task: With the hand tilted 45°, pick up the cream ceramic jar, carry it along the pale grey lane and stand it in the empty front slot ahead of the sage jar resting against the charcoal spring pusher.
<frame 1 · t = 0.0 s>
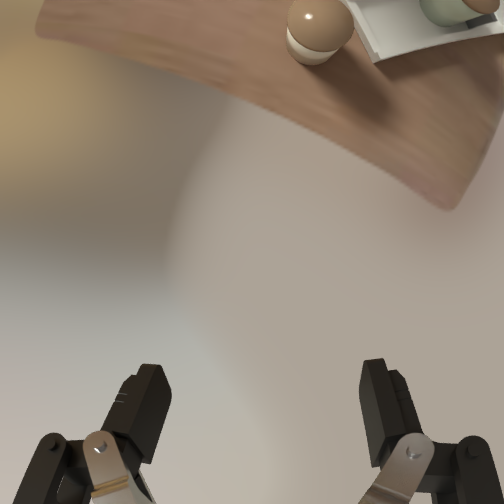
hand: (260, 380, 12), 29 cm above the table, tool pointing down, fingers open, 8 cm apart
cream jar: (310, 43, 30), on the table
jar lane: (432, 10, 26), on the table
sage jar: (438, 8, 24), point 1 cm above the table, touching jar lane
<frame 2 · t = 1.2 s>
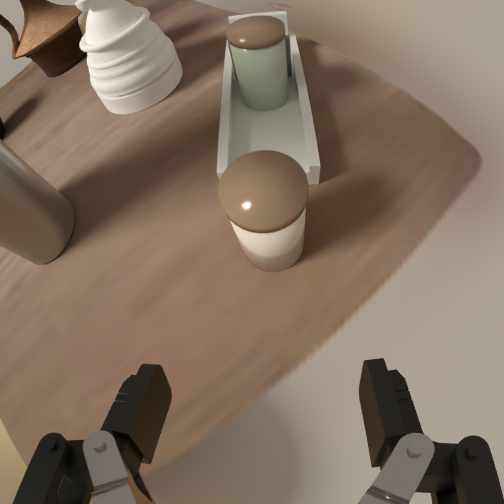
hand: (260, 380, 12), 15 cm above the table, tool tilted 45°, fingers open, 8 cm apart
pitcher: (67, 62, 50), on the table
cream jar: (273, 242, 29), on the table
pusher: (261, 52, 33), point 4 cm above the table, slide at 0.0 cm
jar lane: (266, 104, 35), on the table
sage jar: (265, 95, 34), point 1 cm above the table, touching jar lane
honey pot: (142, 84, 41), on the table, touching squeeze bottle
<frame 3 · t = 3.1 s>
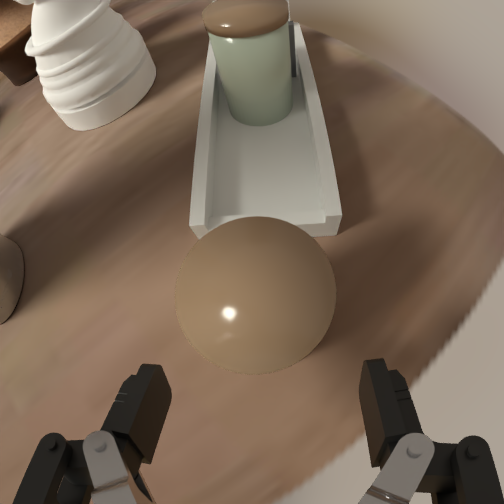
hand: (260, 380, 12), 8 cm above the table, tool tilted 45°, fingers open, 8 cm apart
pitcher: (35, 67, 41), on the table
cream jar: (271, 325, 20), on the table
pusher: (254, 46, 24), point 4 cm above the table, slide at 0.0 cm
jar lane: (262, 116, 27), on the table
sage jar: (260, 103, 26), point 1 cm above the table, touching jar lane
honey pot: (108, 90, 32), on the table, touching squeeze bottle
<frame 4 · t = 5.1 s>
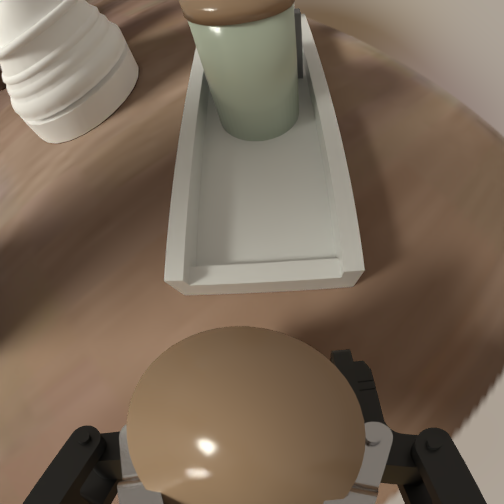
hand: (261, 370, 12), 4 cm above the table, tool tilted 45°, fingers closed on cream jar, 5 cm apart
cream jar: (270, 400, 16), on the table, touching gripper
pusher: (251, 40, 19), point 4 cm above the table, slide at 0.0 cm
jar lane: (261, 126, 22), on the table
sage jar: (259, 111, 21), point 1 cm above the table, touching jar lane
honey pot: (84, 95, 27), on the table, touching squeeze bottle
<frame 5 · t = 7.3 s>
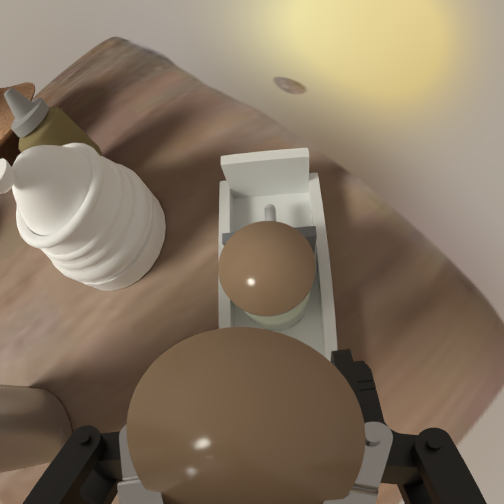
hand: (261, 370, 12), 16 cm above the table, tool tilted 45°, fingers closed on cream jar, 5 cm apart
pitcher: (28, 156, 43), on the table
cream jar: (270, 400, 16), point 12 cm above the table, touching gripper
squeeze bottle: (91, 186, 37), on the table, touching honey pot
pusher: (271, 234, 27), point 4 cm above the table, slide at 0.0 cm
jar lane: (277, 306, 29), on the table
sage jar: (276, 299, 28), point 1 cm above the table, touching jar lane
honey pot: (115, 235, 34), on the table, touching squeeze bottle
when the fingers open (7 cm above the table, at t = 9.6 s): cream jar drops 1 cm, resting on jar lane.
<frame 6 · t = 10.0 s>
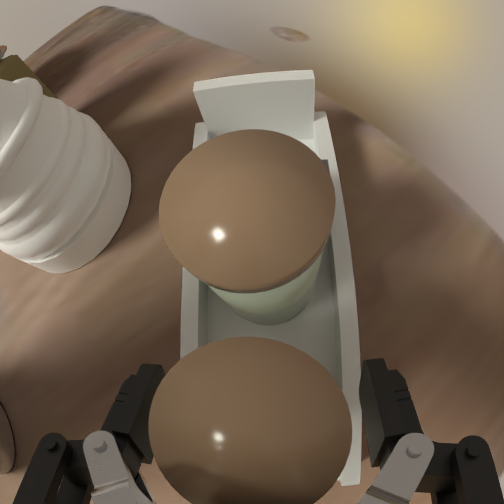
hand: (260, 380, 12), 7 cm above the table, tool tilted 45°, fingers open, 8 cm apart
cream jar: (271, 399, 17), point 1 cm above the table, touching jar lane
squeeze bottle: (53, 151, 28), on the table, touching honey pot
pusher: (260, 182, 18), point 4 cm above the table, slide at 0.0 cm
jar lane: (270, 290, 20), on the table
sage jar: (268, 279, 19), point 1 cm above the table, touching jar lane
honey pot: (71, 204, 25), on the table, touching squeeze bottle
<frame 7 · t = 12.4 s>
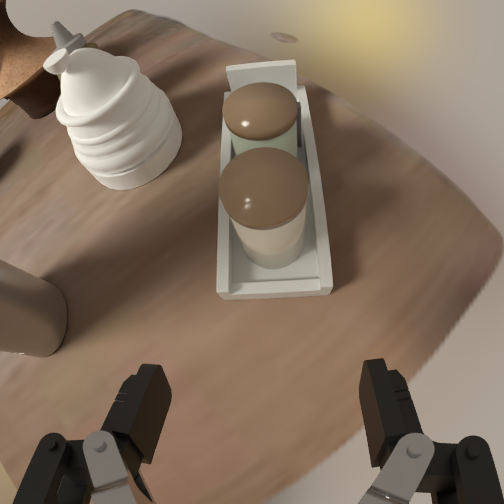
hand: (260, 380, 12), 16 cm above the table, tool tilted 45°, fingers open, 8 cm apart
pitcher: (51, 100, 47), on the table
cream jar: (273, 240, 29), point 1 cm above the table, touching jar lane
squeeze bottle: (113, 116, 41), on the table, touching honey pot
pusher: (265, 119, 30), point 4 cm above the table, slide at 0.0 cm
jar lane: (271, 184, 33), on the table
sage jar: (270, 174, 32), point 1 cm above the table, touching jar lane
honey pot: (135, 147, 37), on the table, touching squeeze bottle
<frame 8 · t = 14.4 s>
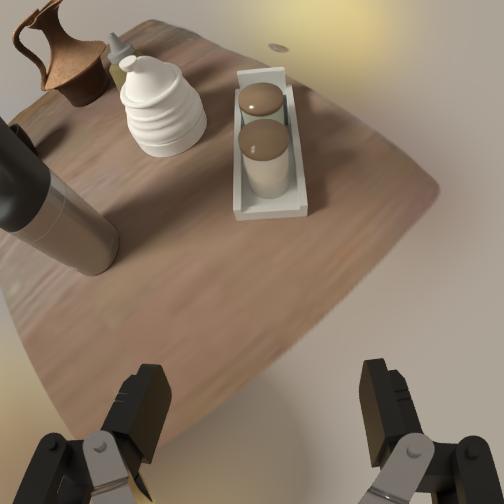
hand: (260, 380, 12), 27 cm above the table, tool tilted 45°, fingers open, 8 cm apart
pitcher: (90, 92, 62), on the table
cream jar: (269, 182, 44), point 1 cm above the table, touching jar lane
squeeze bottle: (150, 106, 55), on the table, touching honey pot
mug: (24, 168, 57), on the table
pusher: (264, 106, 45), point 5 cm above the table, slide at 0.0 cm
jar lane: (268, 149, 48), on the table
sage jar: (267, 142, 47), point 1 cm above the table, touching jar lane
honey pot: (172, 128, 52), on the table, touching squeeze bottle
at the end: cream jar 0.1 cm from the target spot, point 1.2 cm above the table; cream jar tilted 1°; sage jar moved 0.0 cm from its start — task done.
